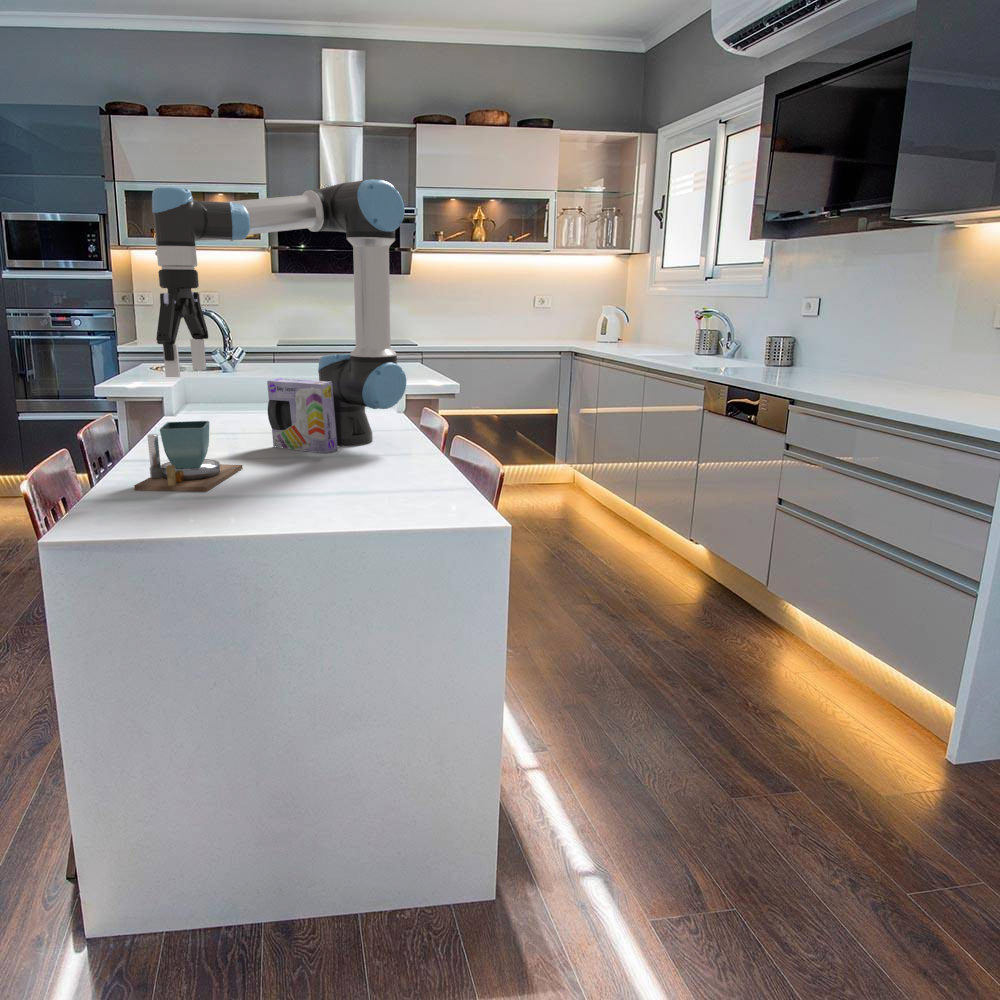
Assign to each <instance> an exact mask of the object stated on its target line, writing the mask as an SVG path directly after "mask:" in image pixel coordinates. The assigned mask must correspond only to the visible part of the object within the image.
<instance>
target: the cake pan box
mask: <svg viewBox="0 0 1000 1000" xmlns="http://www.w3.org/2000/svg"><path fill="white" fill-rule="evenodd" d="M266 383H267V393H268V403H267V417H268V421H269V424H270V428H271V433H272V443H273V444H272V445H273V446H276V447H283V448H282V449H284V448H290V449H289V450H292V449H296V450H295V451H301V450H302V452H303V451H304V452H310V453H311V452H313V453H321V454H322V453H323V454H328V453H334V452H335V453H336V452H338V449H339V446H337V436H336V424H335V411H334V399H333V387H332V382H325V381H319V380H312V379H302V378H283V377H278V378H273V379H269V380H267V381H266ZM276 447H275V448H276Z"/></svg>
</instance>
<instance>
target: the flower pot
mask: <svg viewBox="0 0 1000 1000" xmlns="http://www.w3.org/2000/svg"><path fill="white" fill-rule="evenodd" d="M159 433H160V439H161V442H162V446H163V450H164V454H165V455H166V458H167V460H168V461H169V462H170V463H171V464H172V465H175V468H178V469H179V468H198V467H200V466H201V465H202V463H203V462H204V459H206V457H207V455H208V451H209V445H210V421H209V420H193V421H191V420H190V421H167V422H165V423H164V425H162V426H161V427H160V428H159Z"/></svg>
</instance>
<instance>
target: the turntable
mask: <svg viewBox="0 0 1000 1000" xmlns="http://www.w3.org/2000/svg"><path fill="white" fill-rule="evenodd" d="M147 445H148V453H149V454H148V457H149V464H150V465H149V466H150V467H149V474H150V475H149V478H150V477H151V478H161V477H163V478H166V479H167V468H166V466H168V465H172V464H171V463H170V461H169V462H168V461H167V462H164V463H162V464H161V458H160V457H161V456H160V445H159V435H158V434H157V433H156V434H155V433H153V434H147ZM220 464H221V463H220V461H219V460H215V459H212V458H211V459H208V458H205V459H204V462H203V463H202V465H201V466H200V467H198V468H179V469H178V468H175V475H176V482H182V481H183V480H195V479H203V478H209V477H213V476H216V475H218V474H219V473H220Z"/></svg>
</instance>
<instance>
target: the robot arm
mask: <svg viewBox="0 0 1000 1000" xmlns="http://www.w3.org/2000/svg"><path fill="white" fill-rule="evenodd" d="M151 208H152V210H151V211H152V217H153V224H154V225H153V226H154V235H155V245H156V246H155V247H156V248H155V249H156V251H155V252H154V254H155V256H157V257H156V259H157V266H159V267H161V269H159V270H158V282H159V287H160V288H162V289H167V293H166V292H165V293H163V292H162V293H161V292H160V294H159V302H160V303H159V304H160V306H159V315H158V321H157V331H156V340H155V341H156V343H157V345H162V350H163V360H164V361H163V362H164V372H165V374H164V375H165V377H166V378H181V370H180V369H181V368H180V358H179V356H180V355H179V346H178V344H177V343H176V340H177V336H178V333H179V328H180V324H181V320H182V319H183V320H184V322H185V324H186V327H187V329H188V331H189V334H190V335H191V339H190V340H189V341H190V354H191V363H192V364H191V365H192V371H193V370H194V371H195V370H196V371H206V370H207V361H206V352H205V351H206V350H205V340H208V339H209V332H208V327H207V323H206V320H205V317H204V314H203V313H204V312H203V309H202V306H201V301H200V293H199V292H198V291H197V292H196V291H192V289H198V288H199V274H198V273H199V272H198V270H196V268H195V267H197V266H198V259H197V258H198V257H197V247H196V246H197V245H196V241H217V240H218V241H231V242H233V241H242V240H246V238H247V237H248V236H250V235H257V234H266V233H276V232H285V231H293V230H303V229H307V230H309V231H310V232H315V233H316V232H338V233H345V234H346V240H347V241H348V243H350V245H351V246H352V248H353V249H352V251H353V253H352V254H353V286H354V287H353V288H354V326H355V327H354V328H355V329H354V331H355V332H354V333H355V347H354V348H353V350H352V351H351V352H350V353H338V354H328V355H323V356H321V357H320V358H319V359H318V367H317V368H318V369H317V372H318V381H325V382H332V387H333V399H334V411H335V424H336V436H337V447H348V446H351V447H352V446H359V445H365V444H370V443H371V442H373V439H374V438H373V431H372V428H371V424H370V423H369V420H368V419H369V418H368V415H367V414H366V413H367V412H366V408H369V409H372V410H377V409H378V410H389V409H391V408H393V407H394V406H396V405H397V404H398V403H399V401H400V400H402V398H403V396H404V395H405V392H406V388H407V377H406V376H407V375H406V373H405V371H404V370H403V368H402V367H401V366H400V365H399V364H398V355H397V353H396V351H395V350H394V349H393V348H392V347H391V346H392V345H391V300H390V299H391V298H390V296H391V295H390V294H391V293H390V292H391V291H390V286H391V285H390V247H391V245H392V244H393V243H394V242H395V241H396V231H397V229H399V228H400V226H401V224H402V223H403V221H404V217H405V204H404V201H403V197H402V196H401V194H400V192H399V190H397V189H396V188H395V186H394V185H393V184H392V183H390V182H389V181H386V180H383V179H365V180H358V181H357V180H356V181H351V182H342V183H338V184H334V185H330V186H327V187H322V188H317V189H310V190H305V191H304V192H303V193H302V194H300V195H290V196H281V197H280V196H278V197H265V198H256V199H254V198H253V199H244V200H243V199H242V200H229V201H207V200H206V201H205V200H204V201H203V200H197V199H194V198H193V195H192V192H191V190H190V189H188V188H183V187H173V186H172V187H171V186H169V187H168V186H167V187H166V186H163V187H156V188H154V190H152V195H151Z"/></svg>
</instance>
